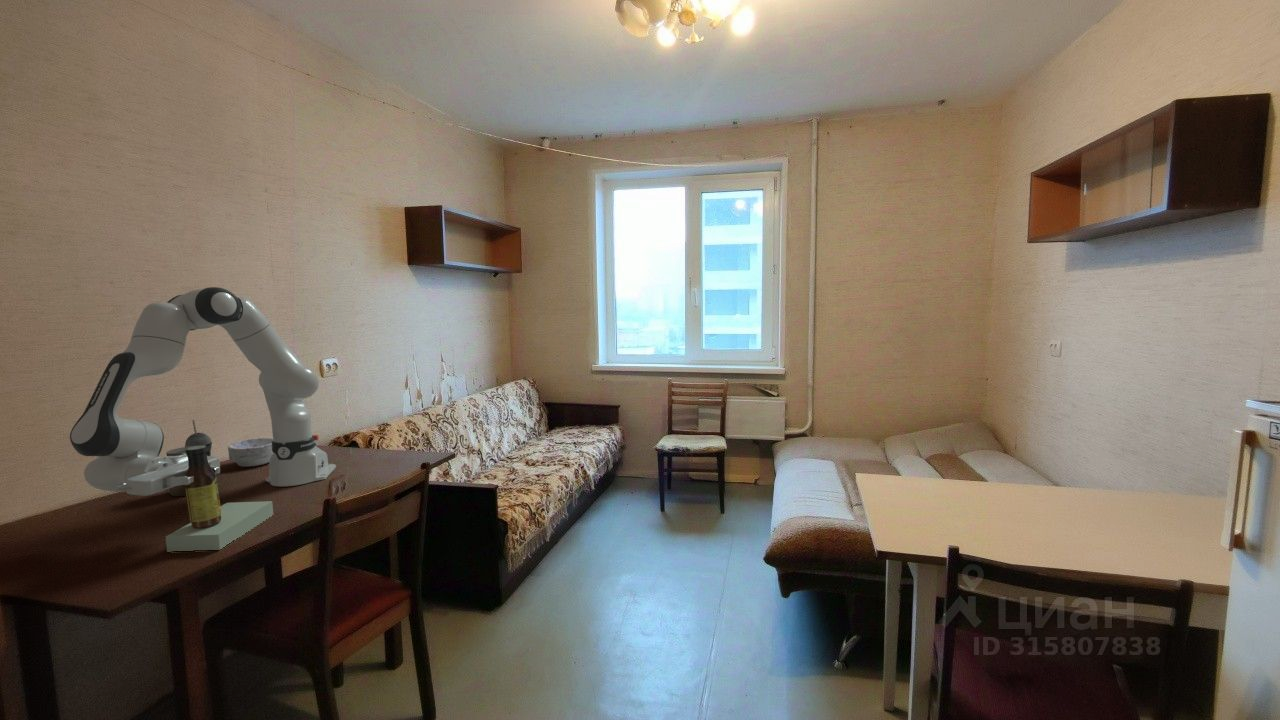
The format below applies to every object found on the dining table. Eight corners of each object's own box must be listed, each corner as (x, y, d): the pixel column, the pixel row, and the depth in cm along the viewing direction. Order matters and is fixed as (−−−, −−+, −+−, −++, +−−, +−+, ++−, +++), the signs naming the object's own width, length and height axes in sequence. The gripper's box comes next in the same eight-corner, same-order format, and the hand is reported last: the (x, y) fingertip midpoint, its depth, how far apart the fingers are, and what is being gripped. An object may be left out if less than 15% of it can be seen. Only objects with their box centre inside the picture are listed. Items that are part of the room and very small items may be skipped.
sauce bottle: (227, 521, 139) (219, 445, 136) (199, 531, 133) (190, 452, 131) (212, 517, 142) (204, 442, 139) (184, 526, 136) (175, 449, 134)
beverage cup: (200, 481, 183) (194, 423, 181) (182, 480, 184) (176, 422, 182) (220, 474, 190) (215, 418, 188) (203, 473, 191) (198, 417, 189)
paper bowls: (255, 470, 195) (254, 448, 194) (218, 468, 197) (216, 447, 196) (289, 458, 210) (287, 437, 209) (254, 456, 212) (253, 436, 211)
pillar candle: (208, 492, 172) (204, 445, 171) (167, 499, 167) (163, 450, 165) (210, 484, 180) (206, 439, 179) (172, 490, 175) (167, 444, 173)
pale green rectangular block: (228, 516, 153) (227, 502, 152) (273, 514, 154) (272, 501, 153) (167, 552, 131) (165, 536, 131) (220, 550, 132) (218, 534, 131)
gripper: (109, 475, 127) (163, 476, 125) (189, 451, 147) (237, 451, 146) (112, 501, 127) (166, 503, 126) (191, 474, 148) (239, 474, 146)
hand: (204, 475), depth 136 cm, fingers closed on sauce bottle, 6 cm apart
